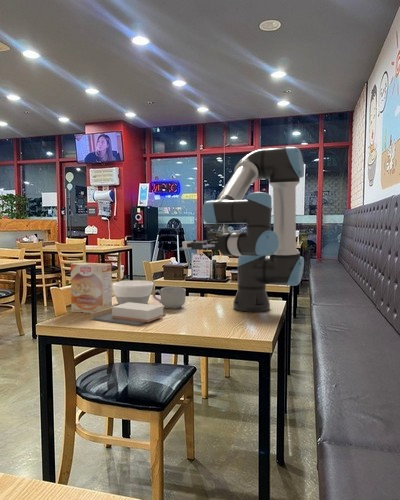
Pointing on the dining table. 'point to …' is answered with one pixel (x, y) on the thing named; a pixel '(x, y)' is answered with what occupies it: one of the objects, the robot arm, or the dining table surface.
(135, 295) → the bowl
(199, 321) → the dining table surface
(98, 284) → the coffeecake box
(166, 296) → the teacup
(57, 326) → the dining table surface
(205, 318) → the dining table surface
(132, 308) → the tile
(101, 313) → the slate board
